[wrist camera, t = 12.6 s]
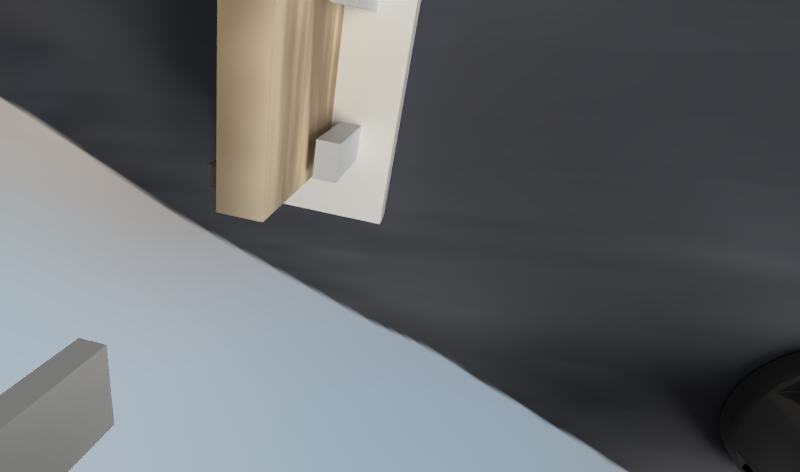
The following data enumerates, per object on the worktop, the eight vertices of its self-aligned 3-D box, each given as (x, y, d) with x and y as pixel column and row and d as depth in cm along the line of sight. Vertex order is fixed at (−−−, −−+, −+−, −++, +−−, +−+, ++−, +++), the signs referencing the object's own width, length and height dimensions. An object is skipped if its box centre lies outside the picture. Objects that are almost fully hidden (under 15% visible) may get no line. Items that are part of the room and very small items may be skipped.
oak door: (350, -53, 29) (279, -105, 18) (327, 162, 35) (262, 222, 24) (296, -63, 29) (193, -121, 18) (282, 153, 35) (197, 208, 24)
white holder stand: (439, -108, 29) (417, -219, 16) (383, 215, 38) (341, 307, 25) (254, -141, 29) (90, -273, 17) (243, 185, 38) (133, 259, 26)
